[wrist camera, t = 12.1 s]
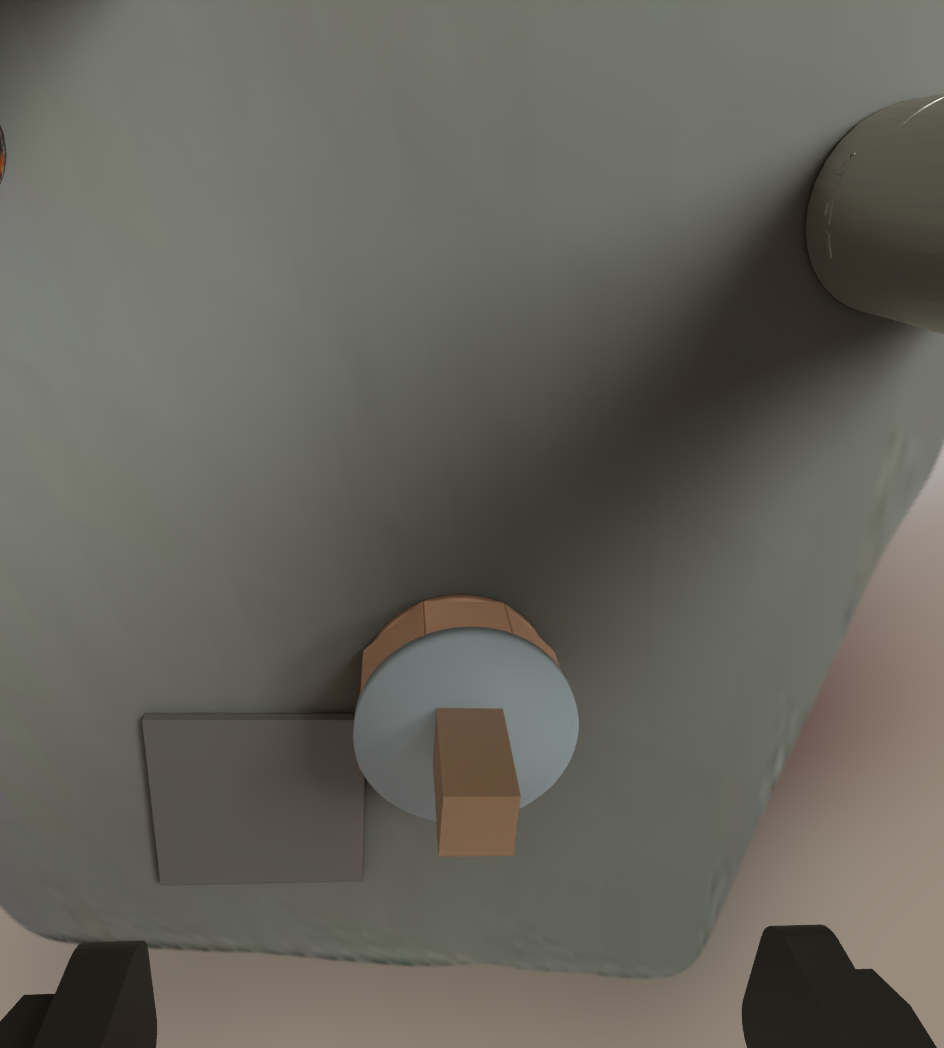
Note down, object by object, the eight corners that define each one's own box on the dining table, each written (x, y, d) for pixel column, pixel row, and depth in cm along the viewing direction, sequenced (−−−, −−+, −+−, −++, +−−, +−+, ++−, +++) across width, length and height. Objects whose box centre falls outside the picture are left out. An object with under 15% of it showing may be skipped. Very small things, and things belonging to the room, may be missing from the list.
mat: (366, 713, 45) (365, 720, 44) (362, 873, 49) (362, 881, 49) (145, 713, 43) (141, 719, 43) (163, 877, 48) (160, 885, 47)
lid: (588, 628, 38) (627, 718, 31) (560, 808, 42) (590, 920, 36) (356, 624, 37) (347, 716, 30) (352, 809, 41) (343, 925, 34)
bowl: (558, 596, 43) (577, 644, 38) (539, 751, 47) (554, 813, 42) (364, 592, 42) (360, 642, 37) (361, 752, 46) (357, 815, 41)
